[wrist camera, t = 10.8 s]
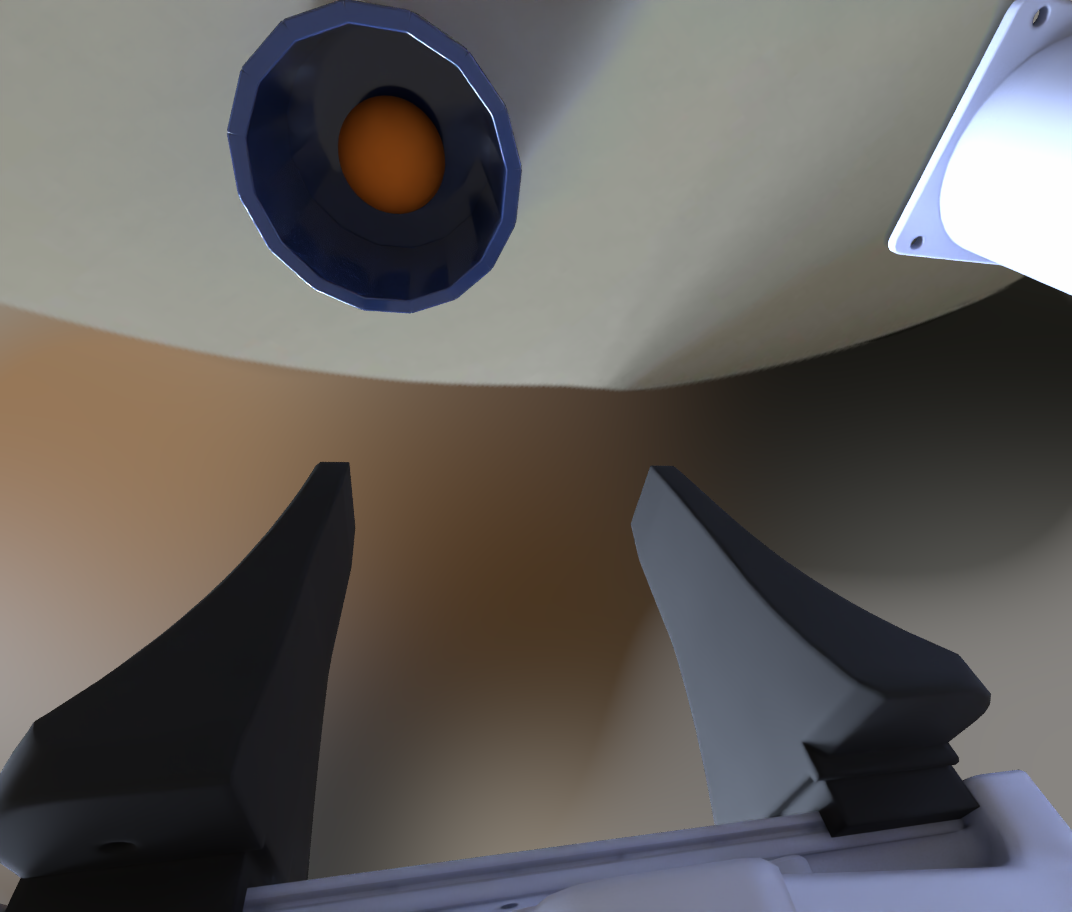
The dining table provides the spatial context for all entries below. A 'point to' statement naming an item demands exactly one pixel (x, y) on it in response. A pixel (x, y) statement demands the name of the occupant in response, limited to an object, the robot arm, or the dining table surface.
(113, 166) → the dining table surface
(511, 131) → the blue cup
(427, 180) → the ball
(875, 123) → the dining table surface
